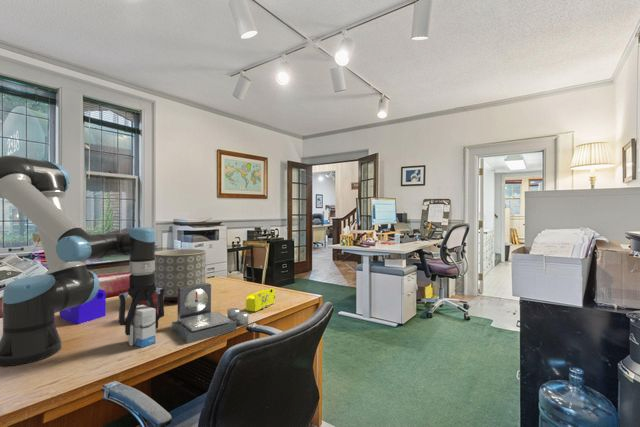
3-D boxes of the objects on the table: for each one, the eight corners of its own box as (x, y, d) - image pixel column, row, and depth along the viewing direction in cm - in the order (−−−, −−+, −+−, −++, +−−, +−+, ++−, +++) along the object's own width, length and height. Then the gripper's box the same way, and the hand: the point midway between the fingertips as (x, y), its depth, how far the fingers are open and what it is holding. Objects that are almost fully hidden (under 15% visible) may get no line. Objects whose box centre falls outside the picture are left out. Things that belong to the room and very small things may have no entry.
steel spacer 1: (230, 322, 125) (230, 312, 125) (225, 319, 129) (225, 309, 129) (242, 319, 129) (242, 309, 129) (236, 316, 132) (236, 307, 132)
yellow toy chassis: (255, 313, 137) (256, 294, 137) (245, 311, 139) (245, 293, 139) (275, 304, 151) (275, 286, 151) (266, 302, 154) (266, 285, 154)
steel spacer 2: (239, 327, 120) (239, 316, 120) (233, 323, 124) (233, 313, 124) (250, 324, 123) (250, 314, 123) (244, 320, 127) (244, 311, 127)
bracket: (105, 316, 132) (105, 288, 132) (78, 324, 122) (79, 294, 122) (75, 311, 138) (76, 285, 138) (47, 319, 128) (47, 290, 128)
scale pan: (191, 331, 106) (191, 328, 106) (179, 321, 116) (179, 319, 116) (230, 322, 116) (230, 319, 116) (215, 313, 125) (215, 311, 125)
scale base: (186, 343, 104) (187, 299, 104) (169, 328, 118) (169, 288, 118) (236, 330, 116) (236, 290, 116) (214, 317, 131) (215, 281, 131)
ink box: (156, 342, 105) (156, 308, 105) (141, 348, 101) (141, 311, 101) (142, 337, 109) (142, 304, 110) (127, 342, 105) (128, 307, 105)
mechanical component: (169, 314, 134) (152, 322, 125) (149, 312, 136) (131, 320, 127) (169, 286, 134) (152, 291, 125) (149, 284, 136) (131, 290, 127)
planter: (193, 305, 148) (193, 255, 148) (141, 305, 148) (141, 254, 148) (212, 292, 173) (212, 249, 173) (167, 291, 173) (167, 249, 173)
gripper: (111, 278, 96) (110, 353, 96) (175, 271, 109) (175, 337, 109) (107, 275, 102) (106, 345, 102) (168, 268, 114) (168, 331, 114)
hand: (142, 341), depth 105 cm, fingers closed on ink box, 6 cm apart
